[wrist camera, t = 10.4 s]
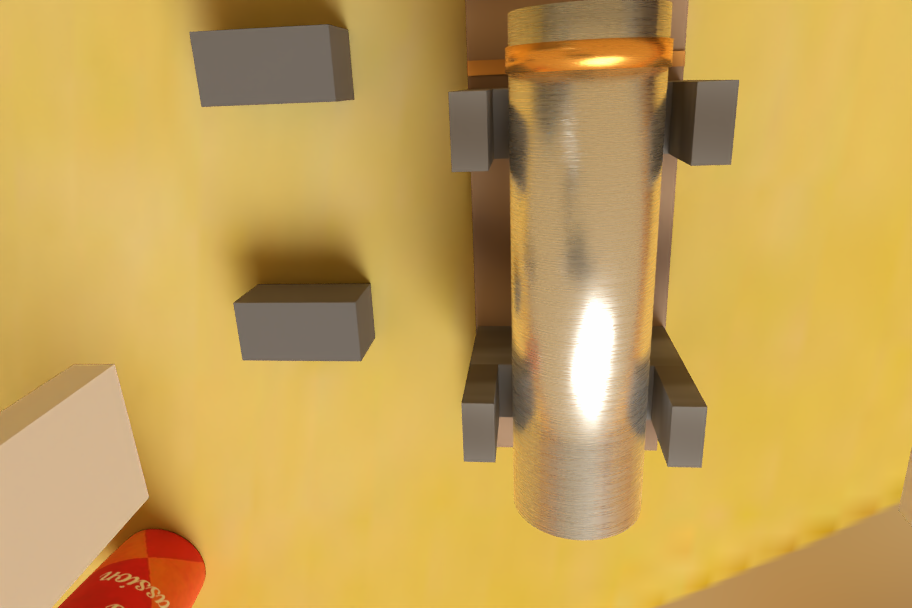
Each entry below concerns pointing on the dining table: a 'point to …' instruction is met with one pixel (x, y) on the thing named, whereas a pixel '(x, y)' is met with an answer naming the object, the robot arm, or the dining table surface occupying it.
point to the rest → (276, 82)
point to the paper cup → (144, 575)
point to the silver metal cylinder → (584, 254)
